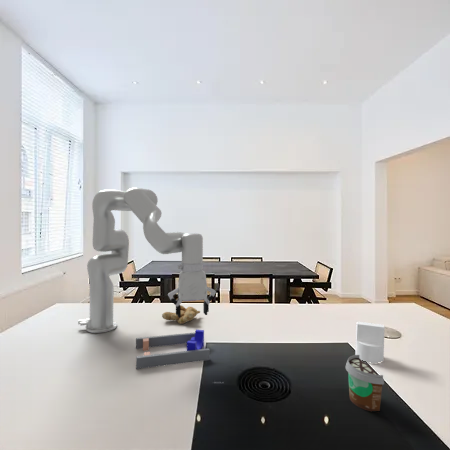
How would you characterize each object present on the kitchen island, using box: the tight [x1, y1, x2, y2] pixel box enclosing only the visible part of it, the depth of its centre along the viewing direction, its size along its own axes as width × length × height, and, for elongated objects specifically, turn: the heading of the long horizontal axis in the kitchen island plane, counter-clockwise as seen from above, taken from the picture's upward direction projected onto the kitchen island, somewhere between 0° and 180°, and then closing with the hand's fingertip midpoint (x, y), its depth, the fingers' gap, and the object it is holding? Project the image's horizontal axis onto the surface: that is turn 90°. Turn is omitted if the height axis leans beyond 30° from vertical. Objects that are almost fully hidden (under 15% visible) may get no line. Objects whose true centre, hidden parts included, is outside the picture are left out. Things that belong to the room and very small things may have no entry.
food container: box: [345, 354, 385, 412], centre depth 81 cm, size 12×6×10 cm, turn 5°
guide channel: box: [135, 332, 211, 370], centre depth 107 cm, size 24×16×4 cm
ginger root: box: [161, 304, 201, 325], centre depth 141 cm, size 16×16×8 cm
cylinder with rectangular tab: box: [354, 321, 385, 363], centre depth 106 cm, size 9×9×12 cm
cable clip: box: [186, 329, 205, 351], centre depth 109 cm, size 12×4×6 cm, turn 170°
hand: (192, 315), depth 108 cm, fingers open, 9 cm apart
